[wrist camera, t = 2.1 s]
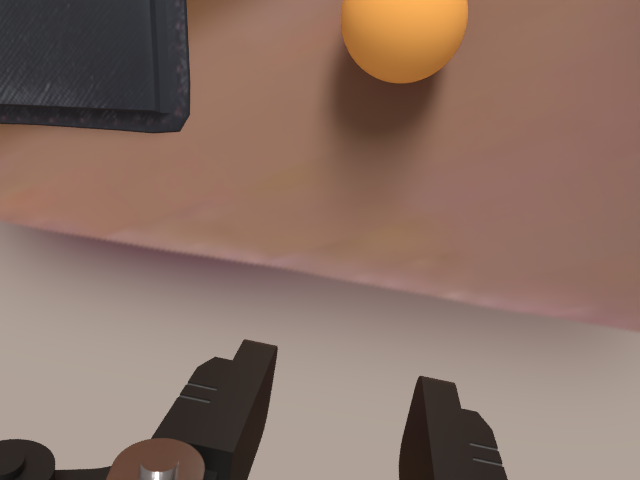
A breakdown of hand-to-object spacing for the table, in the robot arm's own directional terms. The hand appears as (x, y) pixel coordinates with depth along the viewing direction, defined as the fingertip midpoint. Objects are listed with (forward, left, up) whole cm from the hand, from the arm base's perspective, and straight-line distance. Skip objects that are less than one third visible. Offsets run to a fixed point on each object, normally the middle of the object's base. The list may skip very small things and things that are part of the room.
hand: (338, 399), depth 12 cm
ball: (0, -10, -18) cm, 20 cm away
